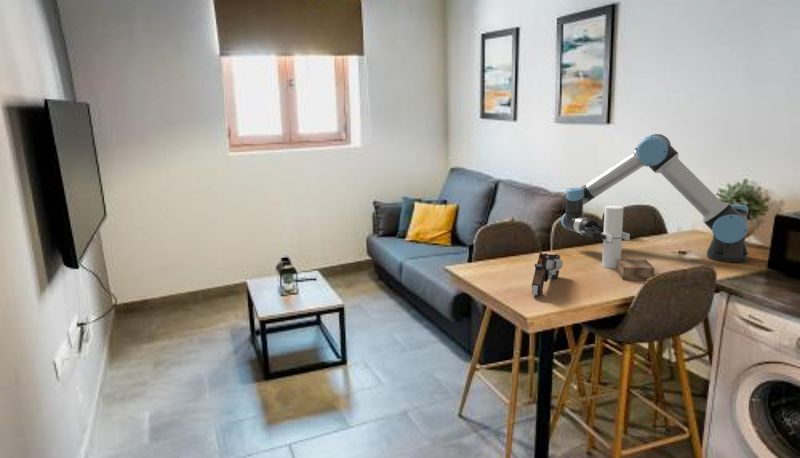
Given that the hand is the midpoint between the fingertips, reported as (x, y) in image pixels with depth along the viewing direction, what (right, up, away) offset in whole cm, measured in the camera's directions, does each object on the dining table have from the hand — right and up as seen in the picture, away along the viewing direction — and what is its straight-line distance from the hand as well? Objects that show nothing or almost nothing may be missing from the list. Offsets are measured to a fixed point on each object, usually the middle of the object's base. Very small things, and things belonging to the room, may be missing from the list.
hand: (620, 238), depth 222 cm
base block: (+3, -15, -6) cm, 16 cm away
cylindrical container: (-1, -12, +8) cm, 14 cm away
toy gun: (-34, -18, -14) cm, 41 cm away
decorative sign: (+17, 0, +56) cm, 59 cm away
